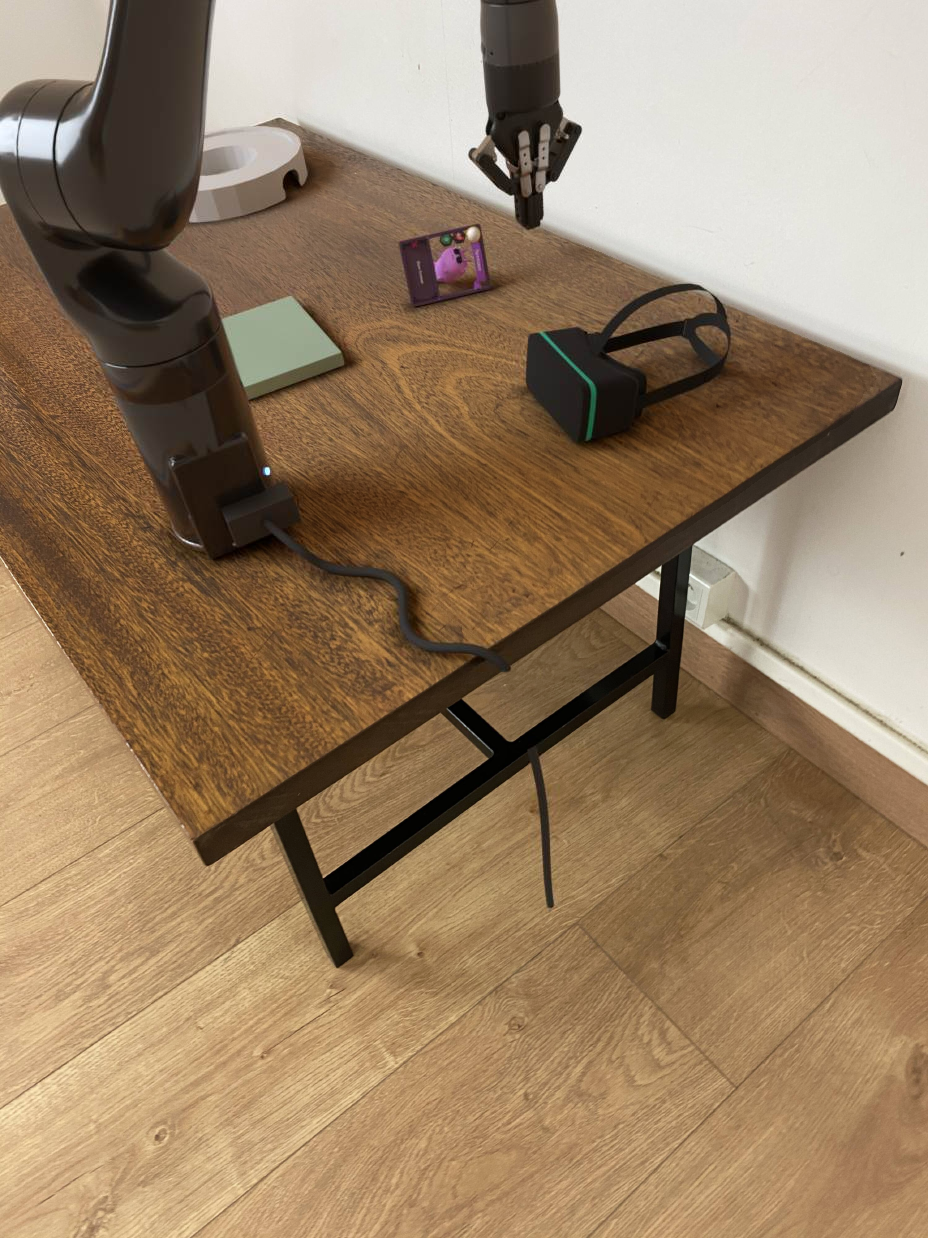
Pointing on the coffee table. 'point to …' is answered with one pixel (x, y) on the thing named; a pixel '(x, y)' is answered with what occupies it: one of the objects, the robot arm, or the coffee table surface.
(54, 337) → the coffee table surface
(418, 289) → the game card
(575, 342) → the virtual reality headset
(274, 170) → the white notched ring
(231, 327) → the notebook
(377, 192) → the coffee table surface
